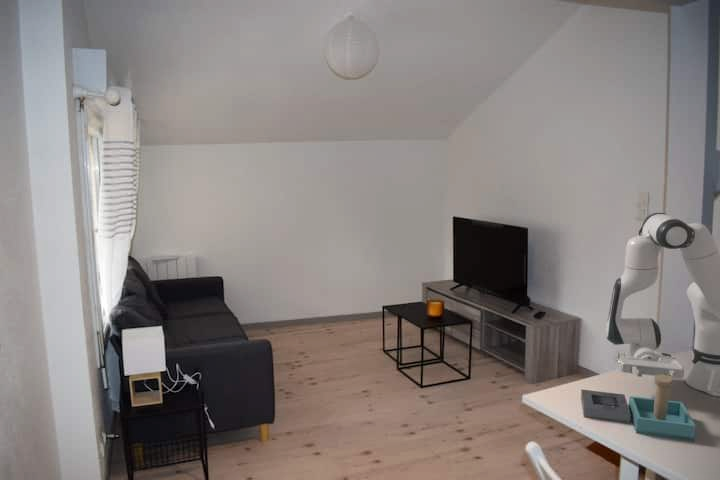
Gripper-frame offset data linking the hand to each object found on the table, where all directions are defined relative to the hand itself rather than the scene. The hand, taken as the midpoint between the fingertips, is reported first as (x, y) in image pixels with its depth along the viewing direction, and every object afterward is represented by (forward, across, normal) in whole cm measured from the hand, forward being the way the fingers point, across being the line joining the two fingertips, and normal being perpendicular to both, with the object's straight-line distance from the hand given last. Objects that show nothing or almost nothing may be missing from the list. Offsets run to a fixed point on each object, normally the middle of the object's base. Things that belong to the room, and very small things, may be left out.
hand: (654, 376), depth 183 cm
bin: (+12, 0, +12) cm, 17 cm away
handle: (+12, 0, +11) cm, 16 cm away
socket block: (+7, -16, +12) cm, 21 cm away
